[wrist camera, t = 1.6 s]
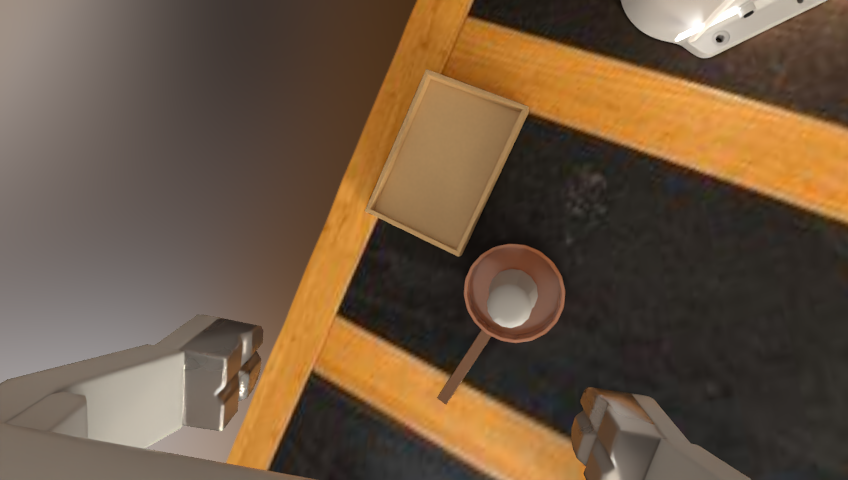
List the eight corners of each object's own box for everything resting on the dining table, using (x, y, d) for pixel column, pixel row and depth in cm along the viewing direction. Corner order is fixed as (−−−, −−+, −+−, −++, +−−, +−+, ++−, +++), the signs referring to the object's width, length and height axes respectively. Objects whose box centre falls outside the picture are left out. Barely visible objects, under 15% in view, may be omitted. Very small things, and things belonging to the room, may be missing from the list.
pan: (550, 234, 49) (551, 234, 46) (572, 328, 48) (575, 333, 45) (459, 254, 52) (454, 255, 49) (478, 343, 51) (475, 349, 48)
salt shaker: (488, 269, 50) (475, 278, 38) (534, 265, 49) (536, 273, 36) (493, 314, 50) (481, 339, 38) (539, 312, 49) (543, 336, 36)
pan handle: (484, 325, 49) (483, 327, 48) (493, 332, 48) (492, 334, 48) (438, 395, 50) (436, 398, 49) (447, 402, 50) (446, 404, 49)
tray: (430, 76, 53) (426, 68, 50) (528, 112, 49) (528, 106, 47) (371, 212, 55) (364, 211, 53) (461, 256, 51) (458, 256, 49)
